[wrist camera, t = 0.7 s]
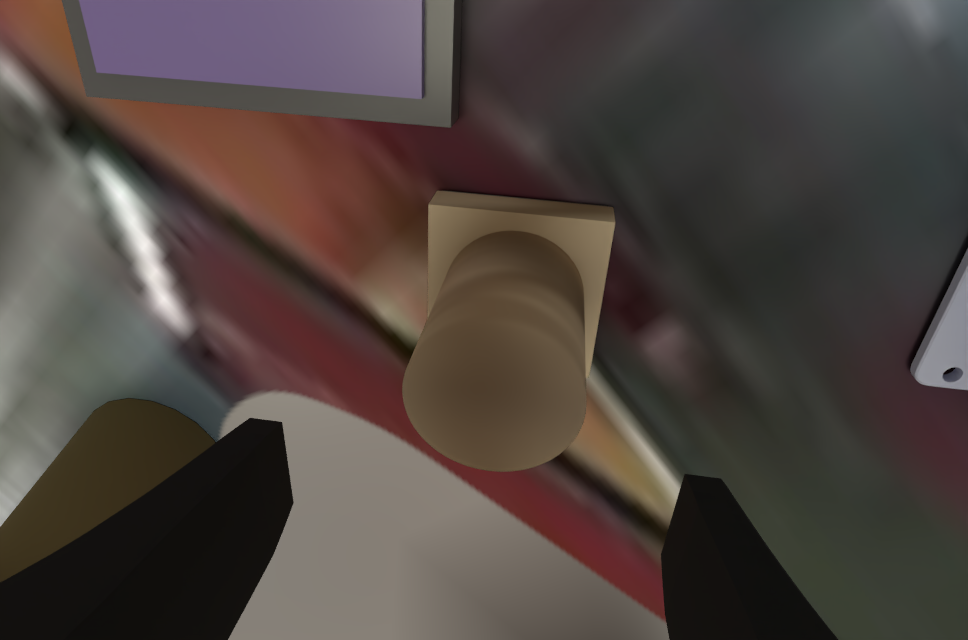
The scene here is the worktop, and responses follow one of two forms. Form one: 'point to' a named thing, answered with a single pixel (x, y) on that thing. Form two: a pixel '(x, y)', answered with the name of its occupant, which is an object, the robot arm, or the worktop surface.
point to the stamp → (507, 327)
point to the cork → (98, 477)
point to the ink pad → (276, 55)
